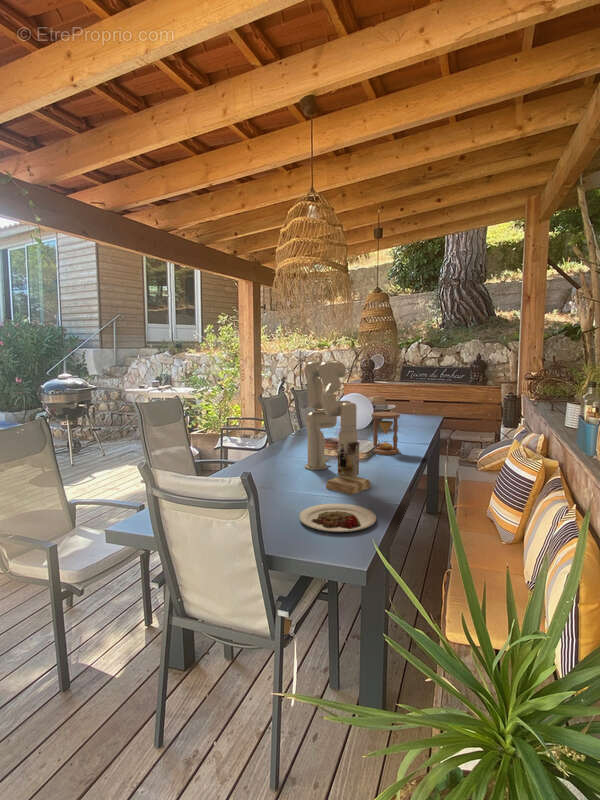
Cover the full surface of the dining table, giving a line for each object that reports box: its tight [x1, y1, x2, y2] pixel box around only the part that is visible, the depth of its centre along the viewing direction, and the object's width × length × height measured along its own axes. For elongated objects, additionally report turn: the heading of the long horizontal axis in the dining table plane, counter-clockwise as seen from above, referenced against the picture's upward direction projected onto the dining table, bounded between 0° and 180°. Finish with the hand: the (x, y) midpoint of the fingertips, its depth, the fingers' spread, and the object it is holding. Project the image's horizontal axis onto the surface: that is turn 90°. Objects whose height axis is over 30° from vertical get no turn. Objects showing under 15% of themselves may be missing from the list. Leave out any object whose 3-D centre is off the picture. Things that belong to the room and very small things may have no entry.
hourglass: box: [371, 411, 400, 456], centre depth 304 cm, size 18×18×25 cm
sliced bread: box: [325, 476, 371, 496], centre depth 228 cm, size 15×15×4 cm
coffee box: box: [337, 441, 360, 478], centre depth 226 cm, size 9×6×16 cm
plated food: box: [299, 503, 377, 533], centre depth 186 cm, size 30×30×3 cm
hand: (348, 464), depth 227 cm, fingers closed on coffee box, 7 cm apart
